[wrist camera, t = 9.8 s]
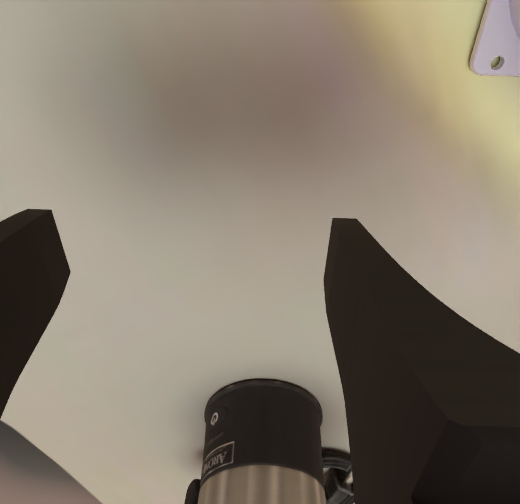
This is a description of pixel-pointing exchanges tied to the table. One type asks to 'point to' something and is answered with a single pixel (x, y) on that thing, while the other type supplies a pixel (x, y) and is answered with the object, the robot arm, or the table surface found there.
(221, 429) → the milk frother
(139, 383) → the table surface
